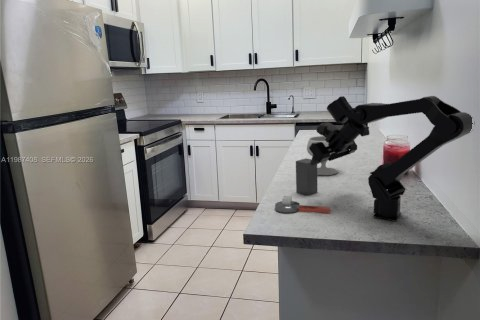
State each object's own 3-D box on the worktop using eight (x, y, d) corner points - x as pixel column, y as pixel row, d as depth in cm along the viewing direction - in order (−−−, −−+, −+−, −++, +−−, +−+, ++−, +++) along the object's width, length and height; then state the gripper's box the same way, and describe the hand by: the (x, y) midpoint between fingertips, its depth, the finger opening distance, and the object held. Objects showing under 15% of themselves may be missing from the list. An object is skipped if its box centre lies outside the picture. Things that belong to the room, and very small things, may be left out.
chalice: (305, 176, 155) (305, 141, 151) (308, 168, 168) (308, 135, 165) (340, 177, 151) (340, 141, 148) (340, 168, 164) (340, 135, 161)
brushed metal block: (317, 192, 134) (317, 160, 131) (307, 195, 131) (306, 163, 128) (306, 189, 138) (305, 158, 135) (296, 192, 135) (295, 161, 132)
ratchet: (331, 207, 118) (331, 195, 117) (328, 216, 111) (328, 204, 110) (278, 204, 124) (278, 193, 123) (272, 212, 117) (271, 200, 116)
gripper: (350, 111, 124) (324, 140, 135) (313, 118, 113) (288, 148, 124) (370, 137, 120) (342, 164, 131) (333, 146, 109) (306, 175, 120)
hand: (320, 162), depth 127 cm, fingers open, 9 cm apart
